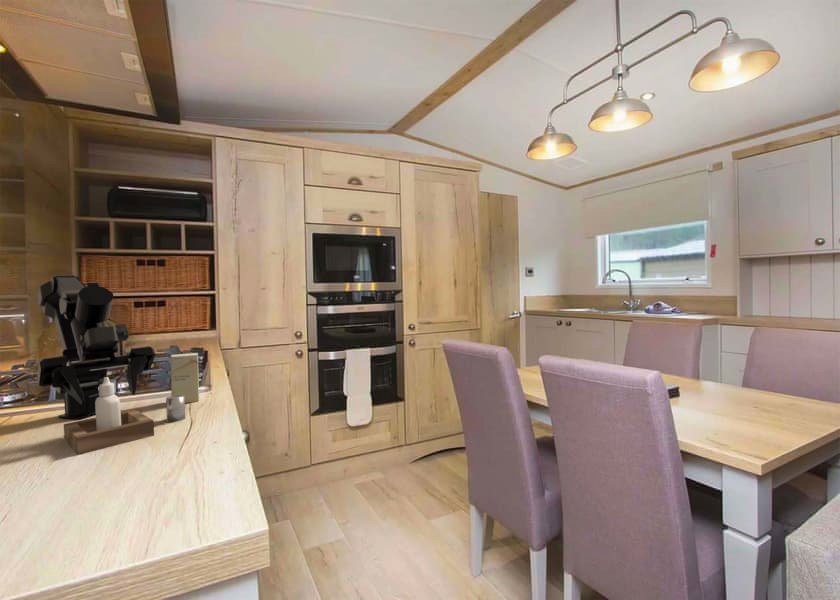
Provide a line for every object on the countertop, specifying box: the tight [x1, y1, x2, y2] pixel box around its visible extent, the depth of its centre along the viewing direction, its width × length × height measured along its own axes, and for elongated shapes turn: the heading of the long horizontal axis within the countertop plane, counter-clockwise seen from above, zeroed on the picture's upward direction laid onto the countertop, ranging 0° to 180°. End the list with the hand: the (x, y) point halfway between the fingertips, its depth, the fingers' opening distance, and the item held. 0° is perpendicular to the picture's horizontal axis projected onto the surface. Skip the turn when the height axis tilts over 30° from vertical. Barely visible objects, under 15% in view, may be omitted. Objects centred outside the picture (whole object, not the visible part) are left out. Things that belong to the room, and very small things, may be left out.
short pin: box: [165, 395, 186, 423], centre depth 93 cm, size 4×4×5 cm
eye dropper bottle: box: [95, 376, 122, 431], centre depth 83 cm, size 4×6×12 cm
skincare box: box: [170, 352, 200, 404], centre depth 108 cm, size 6×4×12 cm
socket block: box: [63, 408, 155, 455], centre depth 83 cm, size 12×12×3 cm
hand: (109, 398), depth 82 cm, fingers open, 8 cm apart
